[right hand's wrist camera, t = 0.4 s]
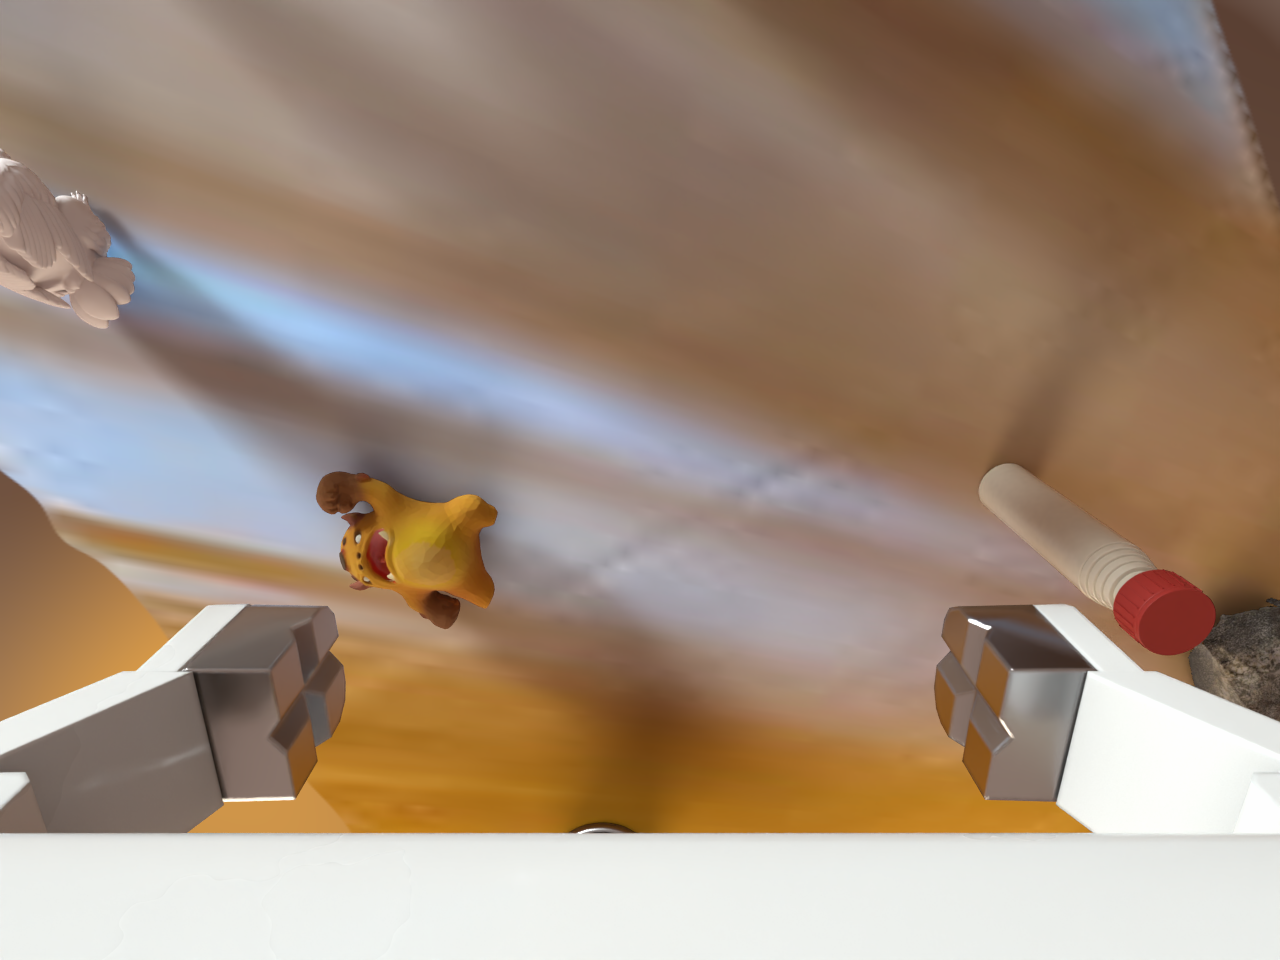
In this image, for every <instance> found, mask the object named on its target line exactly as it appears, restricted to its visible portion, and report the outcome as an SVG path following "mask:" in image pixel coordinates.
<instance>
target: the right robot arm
mask: <svg viewBox="0 0 1280 960" xmlns="http://www.w3.org/2000/svg"><path fill="white" fill-rule="evenodd" d="M338 636H339V635H338V630H337V625H336V620H335V615H334V613H333V612H332V611H331V610H330V609H329V607H328V606H293V605H250V604H228V605H211V606H206V607H205V608H204V609H203V610H202V611H201V612H200V613H199V614H198V615H197V616H195V617H194V618H193V619H192V620H191V621H190V622H189V623H188V624H187V625H186V626H185V627H183V628H182V629H181V630H180V631H179V632H178V633H177V634H176V635H175V636H174V637H173V638H171V639H170V640H169V641H168V642H167V643H166V644H165V645H164V646H163V647H162V648H161V649H160V650H158V651H157V652H156V653H155V654H154V655H153V656H152V657H151V658H150V659H149V660H148V661H147V662H145V663H144V664H143V665H142V666H141V667H140V668H139V669H138V670H137V671H123V672H120V673H118V674H116V675H113V676H111V677H108V678H106V679H103V680H101V681H99V682H96V683H93V684H91V685H89V686H86V687H84V688H81V689H79V690H76V691H74V692H72V693H69V694H67V695H64V696H62V697H59V698H57V699H54V700H52V701H50V702H47V703H45V704H42V705H40V706H37V707H35V708H33V709H30V710H28V711H25V712H23V713H20V714H18V715H15V716H13V717H11V718H8V719H6V720H3V721H1V722H0V960H1280V722H1279V721H1276V720H1274V719H1272V718H1269V717H1267V716H1264V715H1262V714H1259V713H1257V712H1255V711H1252V710H1250V709H1247V708H1245V707H1242V706H1240V705H1238V704H1235V703H1233V702H1230V701H1228V700H1225V699H1223V698H1220V697H1218V696H1216V695H1213V694H1211V693H1208V692H1206V691H1203V690H1201V689H1199V688H1196V687H1194V686H1191V685H1189V684H1186V683H1184V682H1182V681H1179V680H1177V679H1174V678H1172V677H1169V676H1167V675H1165V674H1162V673H1160V672H1157V671H1143V670H1142V669H1141V668H1140V667H1139V666H1138V665H1137V664H1136V663H1135V662H1134V661H1133V660H1131V659H1130V658H1129V657H1128V656H1127V655H1126V654H1125V653H1124V652H1123V651H1122V650H1121V649H1120V648H1118V647H1117V646H1116V645H1115V644H1114V643H1113V642H1112V641H1111V640H1110V639H1109V638H1108V637H1106V636H1105V635H1104V634H1103V633H1102V632H1101V631H1100V630H1099V629H1098V628H1097V627H1096V626H1095V625H1093V624H1092V623H1091V622H1090V621H1089V620H1088V619H1087V618H1086V617H1085V616H1084V615H1083V614H1082V613H1080V612H1079V611H1078V610H1077V609H1076V608H1075V607H1073V606H1070V605H1066V604H1047V605H999V606H959V607H952V608H949V610H948V612H947V614H946V617H945V619H944V624H943V630H942V635H941V636H942V638H943V639H944V641H945V643H946V644H947V646H948V647H949V649H950V650H951V651H950V652H949V653H948V654H947V655H946V656H945V657H944V658H943V659H942V660H941V662H940V663H939V664H938V665H937V668H936V676H935V684H934V691H935V701H936V709H937V712H938V716H939V719H940V722H941V724H942V726H943V728H944V730H945V732H946V733H947V735H948V737H949V738H951V739H953V740H954V741H956V742H957V743H959V744H961V745H962V746H964V747H965V748H964V754H963V760H962V761H963V763H964V765H965V766H966V768H967V770H968V772H969V773H970V775H971V777H972V778H973V780H974V782H975V783H976V785H977V787H978V789H979V790H980V792H981V794H982V795H983V797H984V799H985V800H1016V801H1053V802H1057V803H1056V805H1057V806H1058V807H1060V808H1061V809H1062V810H1064V811H1065V812H1066V813H1068V814H1069V815H1070V816H1072V817H1073V818H1074V819H1076V820H1077V821H1078V822H1080V823H1081V824H1082V825H1084V826H1085V827H1086V828H1088V829H1089V830H1090V831H1092V832H1093V833H187V832H189V831H190V830H191V829H193V828H194V827H195V826H197V825H198V824H199V823H201V822H202V821H203V820H205V819H206V818H207V817H208V816H210V815H211V814H213V813H214V812H215V811H216V810H218V809H219V808H220V807H222V806H223V805H224V803H223V802H227V801H262V800H295V799H296V797H297V795H298V794H299V792H300V790H301V789H302V787H303V785H304V784H305V782H306V780H307V778H308V777H309V775H310V773H311V772H312V770H313V768H314V766H315V765H316V763H317V761H318V760H317V754H316V748H315V747H316V746H318V745H319V744H321V743H323V742H324V741H326V740H327V739H329V738H331V737H332V735H333V733H334V731H335V730H336V728H337V726H338V724H339V722H340V719H341V715H342V711H343V707H344V703H345V684H346V681H345V674H344V667H343V665H342V664H341V663H340V662H339V660H338V659H337V658H336V657H335V656H334V655H333V654H332V653H331V652H330V651H329V650H330V649H331V647H332V646H333V644H334V643H335V641H336V639H337V638H338Z"/></svg>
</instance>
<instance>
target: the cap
mask: <svg viewBox="0 0 1280 960" xmlns="http://www.w3.org/2000/svg"><path fill="white" fill-rule="evenodd" d="M1202 592H1203V591H1201V590H1200V589H1198V588H1197V587H1196V586H1194V585H1193V584H1191V583H1190V582H1188V581H1187V580H1185V579H1184V578H1183V577H1181V576H1179V575H1177V574H1176V573H1174V572H1170V571H1166V570H1164V569H1163V570H1149V571H1145V572H1142V573H1139V574H1137V575H1135V576H1134V577H1132V578H1131V579H1129V580H1128V581H1127V582H1126V583H1125V584H1124V585H1123V586H1122V587H1121V588H1120V589H1119V591H1118V593H1117V595H1116V597H1115V600H1114V604H1113V611H1114V616H1115V619H1116V620H1117V622H1118V623H1119V626H1120V627H1121V628H1122V629H1124V630H1125V631H1126V632H1127V633H1128V634H1129V635H1130V636H1132V637H1133V638H1134V639H1135V640H1136V641H1137V642H1138V643H1140V644H1141V645H1142V646H1143V647H1145V648H1147V649H1148V650H1150V651H1151V652H1153V653H1156V654H1160V655H1176V654H1180V653H1184V652H1186V651H1189V650H1191V649H1193V648H1194V647H1196V646H1197V645H1199V644H1200V643H1201V642H1202V641H1203V640H1204V639H1205V638H1206V637H1207V636H1208V635H1209V633H1210V632H1211V630H1212V628H1213V626H1214V623H1215V618H1216V611H1215V607H1214V604H1213V602H1212V601H1211V599H1210V598H1209V597H1208V596H1206V595H1205V594H1204V593H1202Z"/></svg>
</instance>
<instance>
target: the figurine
mask: <svg viewBox="0 0 1280 960" xmlns="http://www.w3.org/2000/svg"><path fill="white" fill-rule="evenodd" d="M76 193H77V196H76V195H73V193H71V195H72V197H70V196H58V197H56V198H55V197H54V196H53V195H52V193H51V192H50V191H49V190H48V188H47V187H46V186H45V185H44V184H43V183H42V182H41V180H40V179H39V177H38V176H37V175H36V174H35V173H34V172H32V171H31V170H30V169H28V168H27V167H25V166H24V165H23V164H21V163H19V162H16V161H13V160H10V156H9V155H8V154H6V153H5V152H4V150H2V149H0V285H2V286H4V287H6V288H8V289H10V290H12V291H15V292H17V293H19V294H21V295H24V296H26V297H29V298H32V299H35V300H38V301H41V302H43V303H46V304H49V305H52V306H57V307H61V308H68V309H69V308H71V307H70V305H69V304H67V303H66V302H65V301H64V300H62V299H61V298H60V297H63V296H65V295H67V294H69V295H70V302H71V305H72V307H73V309H74V311H75V313H76V314H77V315H78V316H79V317H80V318H81V319H82V320H83V321H85V322H86V323H88V324H90V325H92V326H94V327H97V328H107V327H108V326H109V320H115V319H117V318H119V309H118V306H117V305H122V304H127V303H129V302H130V301H131V297H130V295H131V294H132V293H133V292H134V285H133V282H134V281H135V276H134V274H133V272H132V271H131V269H132V265H131V263H130V262H128V261H127V260H124V259H121V258H114V257H107V252H108V249H109V248H110V246H111V240H110V239H111V237H110V235H109V233H108V232H107V231H106V227H105V225H104V223H102V222H101V221H100V219H99V218H98V217H97V216H95V215H94V214H93V212H92V211H91V209H90V206H89V204H88V201H87V197H86V196H85V195H84V194H83V199H82V196H81V194H80V193H78V191H76Z"/></svg>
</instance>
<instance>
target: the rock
mask: <svg viewBox="0 0 1280 960" xmlns="http://www.w3.org/2000/svg"><path fill="white" fill-rule="evenodd" d="M1266 602H1269V603H1271V604H1274V605H1276V606H1278V607H1272V606H1270V607H1268V606H1267V607H1263V608H1260V609H1259V610H1251V611H1246V612H1243V613H1238V614H1233V615H1225V614H1224V615H1223V614H1222V615H1221V617H1220V622H1219V623H1218V624H1217V625H1216V626H1215V627H1214V628H1213V629H1212V630H1211V632H1210V633H1209V635H1208V636H1207V637H1206V638H1205V639H1204V640H1203V641H1202V642H1204V644H1205V645H1202V642H1201V643H1200V644H1199V645H1197V646H1196V647H1194V650H1192V651H1193V652H1191V653H1190V655H1189V657H1188V658H1189V659H1190V660H1189V662H1190V667H1191V671H1192V673H1191V674H1192V675H1193V677H1192V678H1193V681H1194V685H1195V687H1196V688H1199V689H1201V690H1203V691H1206V692H1208V693H1211V694H1213V695H1216V696H1218V697H1220V698H1223V699H1225V700H1228V701H1230V702H1233V703H1235V704H1238V705H1240V706H1242V707H1245V708H1247V709H1250V710H1252V711H1255V712H1257V713H1259V714H1262V715H1264V716H1267V717H1269V718H1272V719H1274V720H1276V721H1279V722H1280V600H1279V601H1278V600H1276V599H1272V598H1270V599H1267V600H1266Z"/></svg>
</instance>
